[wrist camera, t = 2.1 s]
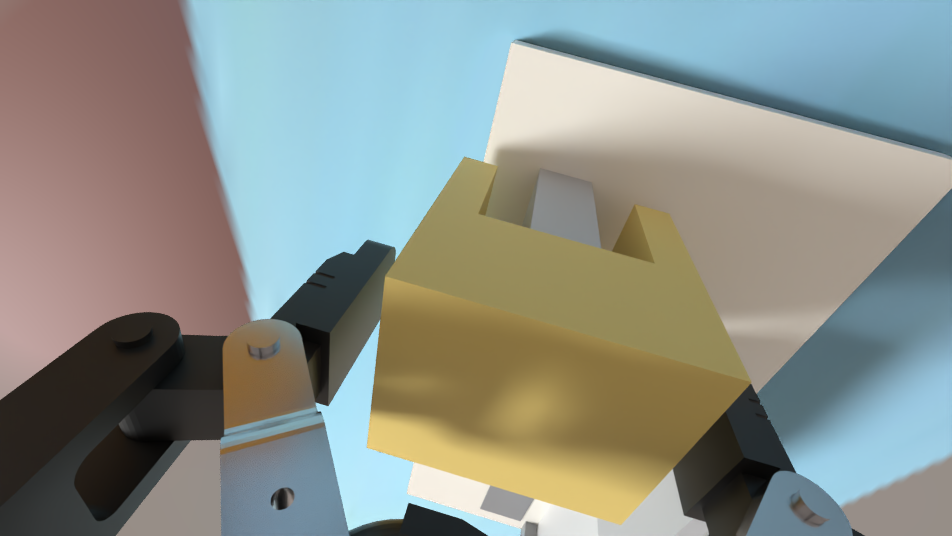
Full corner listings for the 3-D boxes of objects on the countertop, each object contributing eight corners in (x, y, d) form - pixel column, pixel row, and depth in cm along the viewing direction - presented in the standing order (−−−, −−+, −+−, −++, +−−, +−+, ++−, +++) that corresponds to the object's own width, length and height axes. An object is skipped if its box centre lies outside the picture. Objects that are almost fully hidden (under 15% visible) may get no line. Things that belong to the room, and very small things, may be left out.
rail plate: (515, 39, 11) (434, 97, 4) (943, 153, 11) (1591, 412, 4) (411, 477, 25) (351, 662, 18) (602, 535, 25) (617, 748, 18)
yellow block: (464, 156, 12) (385, 276, 7) (669, 213, 12) (751, 382, 6) (437, 291, 15) (366, 447, 9) (601, 338, 14) (621, 525, 9)
